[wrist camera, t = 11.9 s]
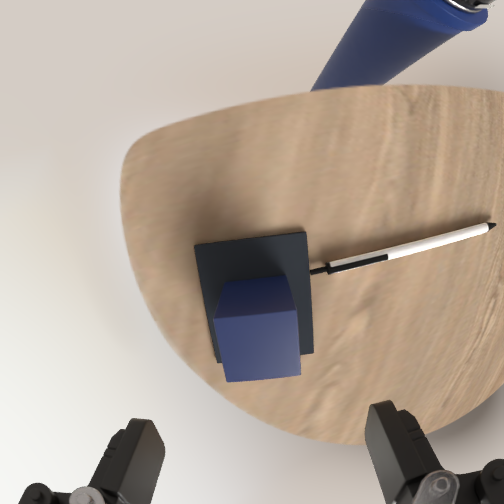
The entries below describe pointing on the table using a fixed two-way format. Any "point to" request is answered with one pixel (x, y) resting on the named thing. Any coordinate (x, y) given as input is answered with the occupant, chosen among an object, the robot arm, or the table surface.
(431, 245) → the pen
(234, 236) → the table surface
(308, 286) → the mat
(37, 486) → the robot arm
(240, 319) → the block
